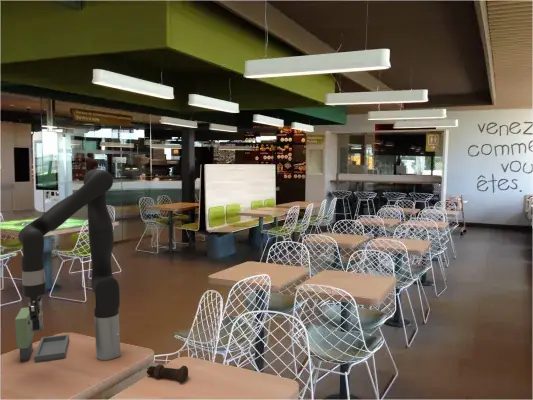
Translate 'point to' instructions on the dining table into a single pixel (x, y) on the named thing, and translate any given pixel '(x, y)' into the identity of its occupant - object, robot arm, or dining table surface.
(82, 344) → the dining table surface
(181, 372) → the bolt
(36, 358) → the parts tray
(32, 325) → the pin
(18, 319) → the control unit
